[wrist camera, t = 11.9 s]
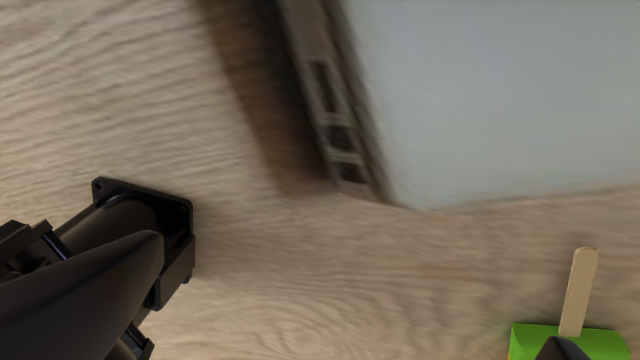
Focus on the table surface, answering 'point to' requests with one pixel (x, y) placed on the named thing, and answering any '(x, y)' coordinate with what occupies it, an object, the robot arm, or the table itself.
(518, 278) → the table surface
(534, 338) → the popsicle
